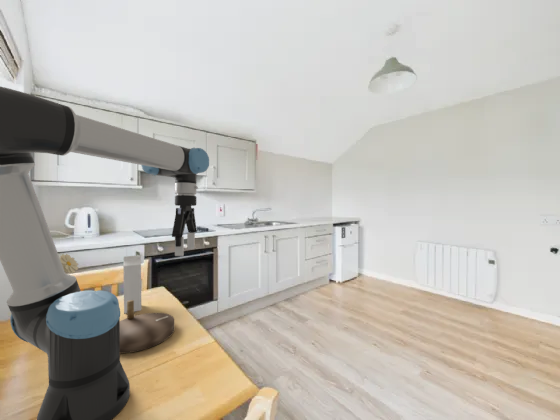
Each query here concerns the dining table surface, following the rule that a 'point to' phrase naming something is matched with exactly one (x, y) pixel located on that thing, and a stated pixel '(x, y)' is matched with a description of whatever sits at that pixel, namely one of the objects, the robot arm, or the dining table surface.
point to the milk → (132, 281)
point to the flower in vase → (68, 263)
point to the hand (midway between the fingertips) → (185, 252)
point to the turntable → (144, 329)
